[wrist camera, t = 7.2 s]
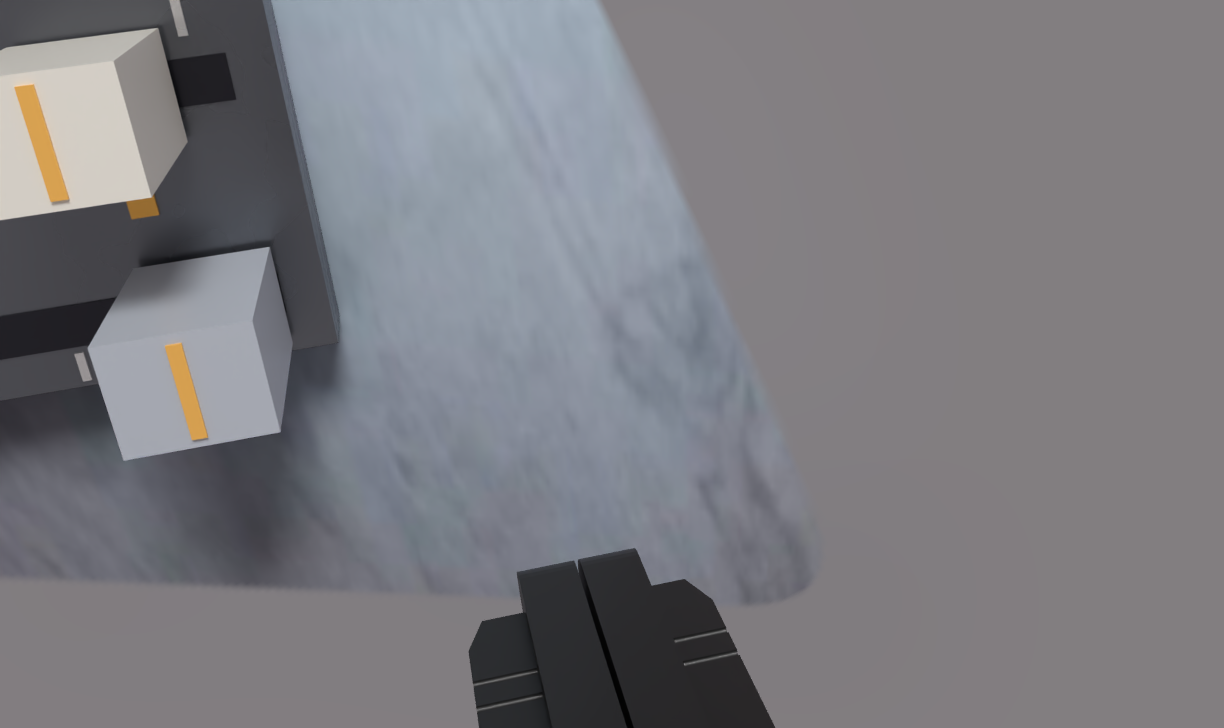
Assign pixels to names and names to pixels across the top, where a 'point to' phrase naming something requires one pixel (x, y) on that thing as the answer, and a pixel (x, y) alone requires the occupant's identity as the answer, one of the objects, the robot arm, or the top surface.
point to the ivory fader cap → (85, 122)
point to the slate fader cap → (195, 354)
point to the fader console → (167, 189)
